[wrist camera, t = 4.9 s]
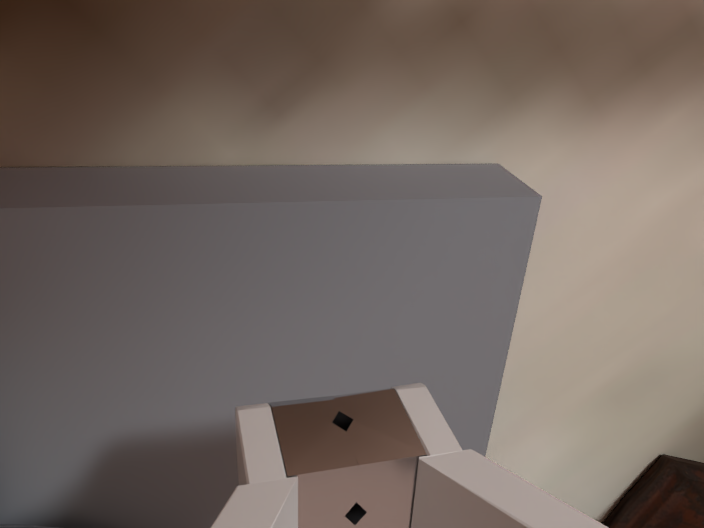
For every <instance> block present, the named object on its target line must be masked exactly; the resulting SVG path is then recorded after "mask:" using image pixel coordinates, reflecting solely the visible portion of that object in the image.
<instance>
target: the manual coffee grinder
mask: <svg viewBox="0 0 704 528" xmlns="http://www.w3.org/2000/svg"><path fill="white" fill-rule="evenodd" d="M603 525H605V526H607V527H609V528H704V463H701V462H696V461H692V460H687V459H682V458H678V457H673V456H668V455H664V454H663V455H662V456H661V457H660V458H659V460H658V461H657V462H656V463H655V464H654V465H653V466H652V467H651V468H650V469H649V470H648V472H647V473H646V474H645V475H644V476H643V477H642V478H641V479H640V480H639V481H638V483H637V484H636V485H635V486H634V487H633V488H632V489H631V490H630V491H629V492H628V493H627V495H626V496H625V497H624V498H623V499H622V500H621V502H620V503H619V504H618V505H617V507H616V508H615V509H614V510H613V512H612V513H611V514H610V516H609V517H608V518H607V519H606V521H605V522H604V523H603Z"/></svg>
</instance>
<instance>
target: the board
mask: <svg viewBox="0 0 704 528" xmlns="http://www.w3.org/2000/svg"><path fill="white" fill-rule="evenodd" d="M541 199H542V196H541V195H539V194H538V193H537V192H535V191H534V190H533V189H531V188H530V187H529V186H527V185H526V184H525V183H523V182H522V181H521V180H519V179H518V178H517V177H515V176H514V175H513V174H511V173H510V172H509V171H507V170H506V169H505V168H503V167H502V166H501V165H499V164H405V165H279V166H153V167H27V168H0V525H37V526H48V527H60V528H211V526H212V525H213V523H214V521H215V520H216V518H217V517H218V515H219V513H220V512H221V510H222V509H223V507H224V506H225V504H226V502H227V501H228V499H229V498H230V496H231V495H232V493H233V491H234V490H235V488H236V487H237V486H239V479H238V466H237V446H236V426H235V408H236V407H238V406H246V405H255V404H264V403H268V404H269V402H279V401H288V400H297V399H307V398H316V397H326V396H336V395H343V394H351V393H358V392H365V391H373V390H380V389H388V388H391V387H396V386H402V385H409V384H415V383H422V384H424V385H425V386H426V387H427V389H428V391H429V392H430V394H431V396H432V398H433V399H434V401H435V403H436V405H437V406H438V408H439V410H440V412H441V413H442V415H443V417H444V419H445V420H446V422H447V424H448V426H449V427H450V429H451V431H452V433H453V434H454V436H455V438H456V440H457V441H458V443H459V445H460V447H461V448H462V450H469V449H472V450H474V451H476V452H477V453H479V454H481V455H483V456H484V457H485V455H486V450H487V445H488V441H489V436H490V432H491V427H492V423H493V418H494V413H495V409H496V404H497V400H498V395H499V391H500V386H501V381H502V377H503V372H504V368H505V363H506V359H507V354H508V349H509V345H510V340H511V336H512V331H513V327H514V322H515V317H516V313H517V308H518V304H519V299H520V295H521V290H522V285H523V281H524V276H525V272H526V267H527V263H528V258H529V253H530V249H531V244H532V240H533V235H534V231H535V226H536V221H537V217H538V212H539V208H540V203H541Z"/></svg>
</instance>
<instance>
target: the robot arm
mask: <svg viewBox="0 0 704 528" xmlns="http://www.w3.org/2000/svg"><path fill="white" fill-rule="evenodd" d="M235 426H236V446H237V466H238V479H239V486H237V487H236V488H235V490H234V491H233V493H232V495H231V496H230V498H229V499H228V501H227V502H226V504H225V506H224V507H223V509H222V510H221V512H220V513H219V515H218V517H217V518H216V520H215V521H214V523H213V525H212V526H211V528H609V527H607V526H605V525H603V524H602V523H600V522H598V521H596V520H595V519H593V518H591V517H589V516H588V515H586V514H584V513H582V512H581V511H579V510H577V509H575V508H574V507H572V506H570V505H568V504H567V503H565V502H563V501H561V500H560V499H558V498H556V497H554V496H553V495H551V494H549V493H547V492H546V491H544V490H542V489H540V488H539V487H537V486H535V485H533V484H532V483H530V482H528V481H526V480H525V479H523V478H521V477H519V476H518V475H516V474H514V473H512V472H511V471H509V470H507V469H505V468H504V467H502V466H500V465H498V464H497V463H495V462H493V461H491V460H490V459H488V458H486V457H484V456H483V455H481V454H479V453H477V452H476V451H474V450H472V449H469V450H462V448H461V447H460V445H459V443H458V441H457V440H456V438H455V436H454V434H453V433H452V431H451V429H450V427H449V426H448V424H447V422H446V420H445V419H444V417H443V415H442V413H441V412H440V410H439V408H438V406H437V405H436V403H435V401H434V399H433V398H432V396H431V394H430V392H429V391H428V389H427V387H426V386H425V385H424V384H422V383H415V384H409V385H402V386H396V387H391V388H388V389H380V390H373V391H365V392H358V393H351V394H343V395H336V396H326V397H316V398H307V399H297V400H288V401H279V402H269V404H268V403H264V404H255V405H246V406H238V407H236V408H235Z"/></svg>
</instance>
